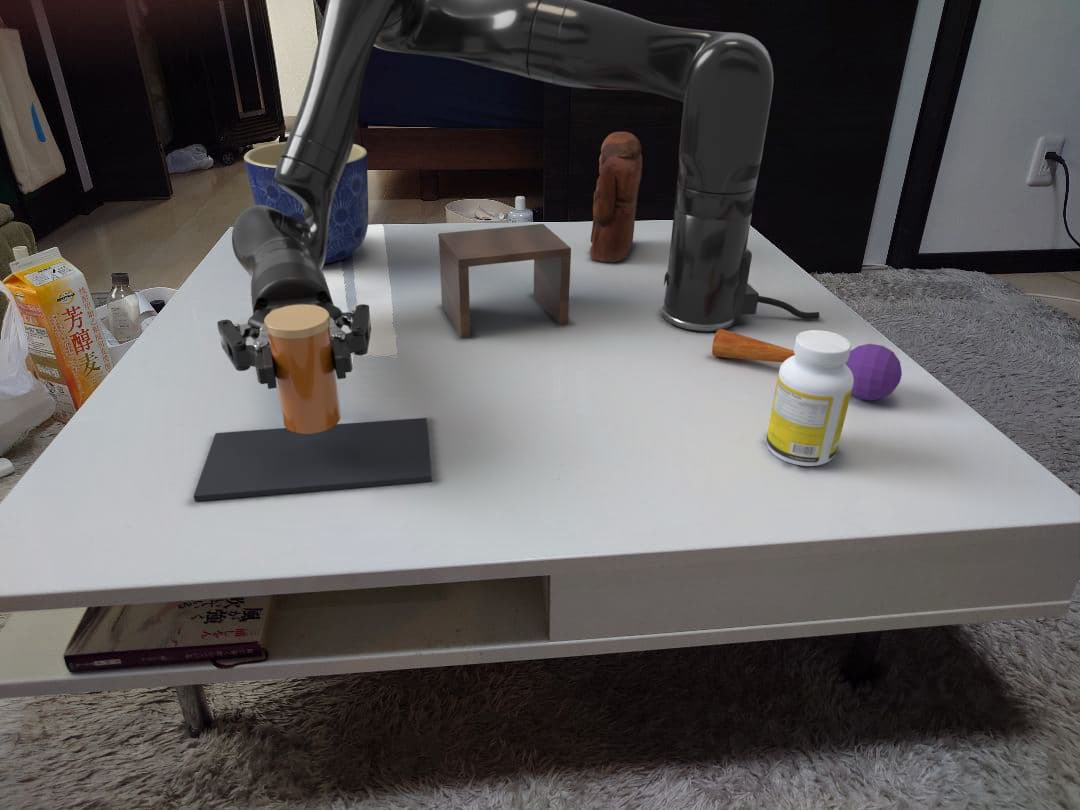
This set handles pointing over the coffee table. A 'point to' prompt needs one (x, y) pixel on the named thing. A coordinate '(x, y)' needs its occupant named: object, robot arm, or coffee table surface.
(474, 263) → the shelf
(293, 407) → the jar
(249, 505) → the coffee table surface
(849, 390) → the pill bottle
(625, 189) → the wooden figurine
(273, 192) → the planter
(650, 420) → the coffee table surface
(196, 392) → the coffee table surface
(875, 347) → the purple and wooden maraca
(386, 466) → the mat
